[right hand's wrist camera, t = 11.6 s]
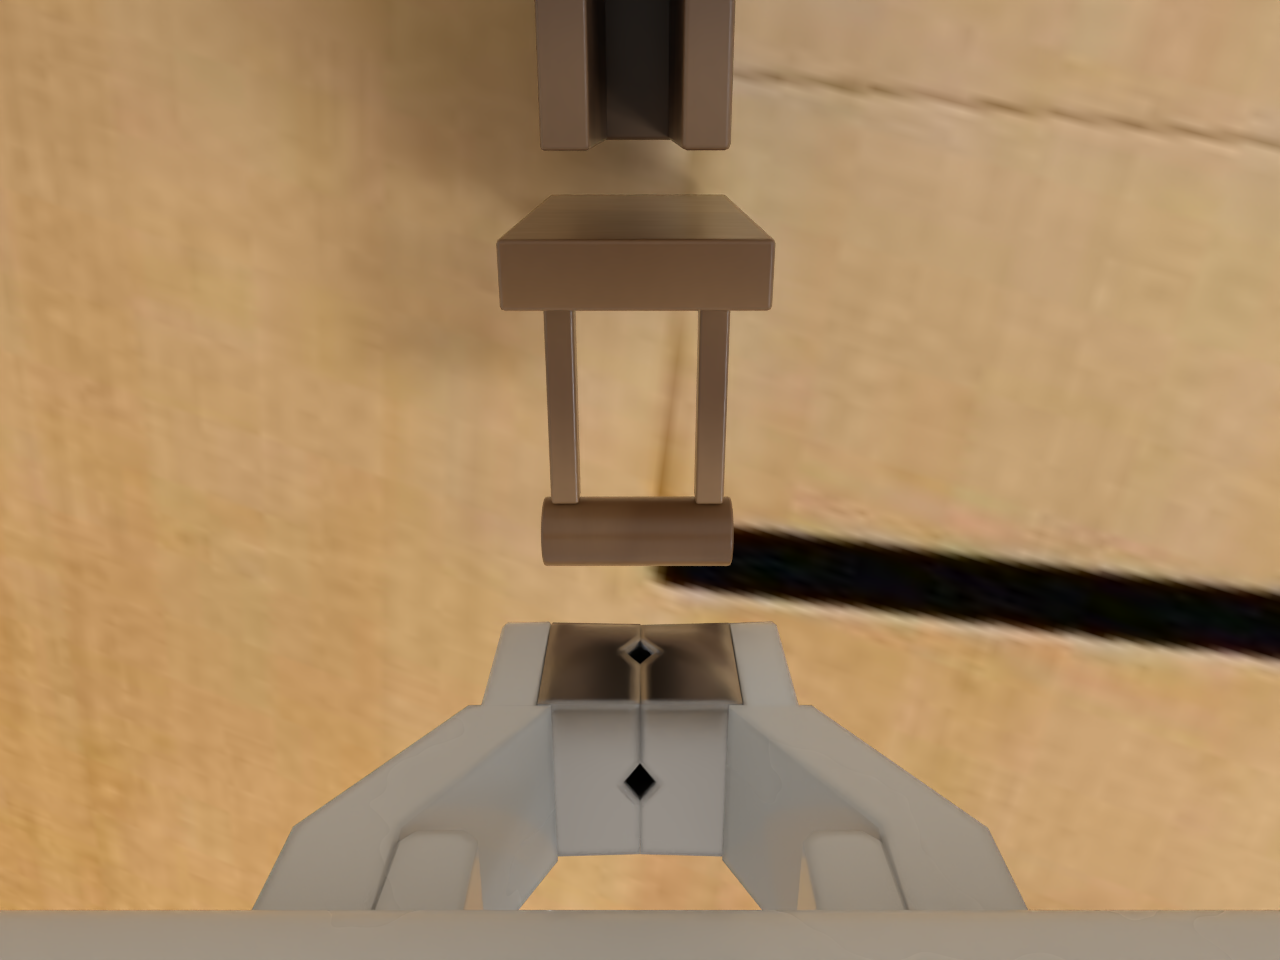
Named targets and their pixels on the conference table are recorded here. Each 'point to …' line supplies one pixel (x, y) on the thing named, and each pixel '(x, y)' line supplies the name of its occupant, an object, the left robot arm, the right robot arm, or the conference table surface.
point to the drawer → (636, 256)
